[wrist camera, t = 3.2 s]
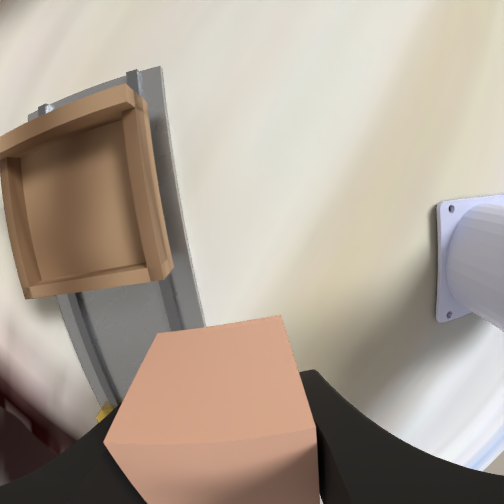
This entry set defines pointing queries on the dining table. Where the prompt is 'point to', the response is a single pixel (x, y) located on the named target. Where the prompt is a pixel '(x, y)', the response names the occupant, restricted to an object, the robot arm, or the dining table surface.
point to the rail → (136, 295)
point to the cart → (85, 197)
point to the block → (218, 419)
